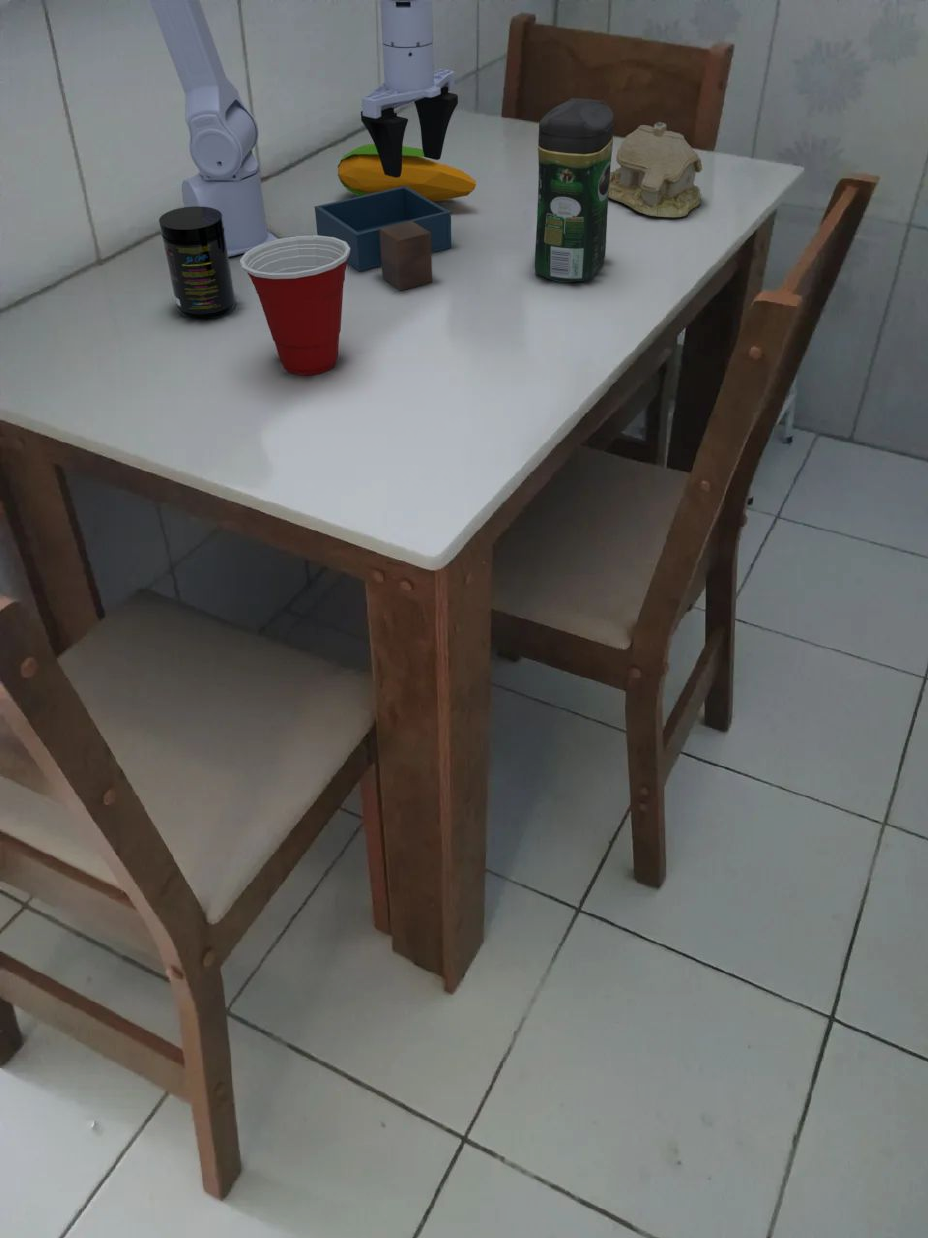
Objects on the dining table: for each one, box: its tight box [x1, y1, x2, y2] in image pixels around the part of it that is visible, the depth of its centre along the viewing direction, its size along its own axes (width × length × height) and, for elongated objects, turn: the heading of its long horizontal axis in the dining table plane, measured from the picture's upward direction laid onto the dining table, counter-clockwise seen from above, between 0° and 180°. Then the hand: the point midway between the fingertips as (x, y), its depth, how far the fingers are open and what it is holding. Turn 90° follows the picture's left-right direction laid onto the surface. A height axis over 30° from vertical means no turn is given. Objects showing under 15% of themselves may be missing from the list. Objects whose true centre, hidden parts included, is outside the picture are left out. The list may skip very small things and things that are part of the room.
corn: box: [337, 143, 477, 202], centre depth 143 cm, size 7×8×20 cm
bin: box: [314, 186, 452, 272], centre depth 133 cm, size 13×11×4 cm
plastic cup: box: [239, 234, 350, 376], centre depth 107 cm, size 11×11×12 cm
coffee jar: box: [534, 97, 615, 283], centre depth 123 cm, size 10×8×19 cm
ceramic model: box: [608, 121, 703, 218], centre depth 142 cm, size 14×11×10 cm
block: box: [379, 221, 433, 292], centre depth 125 cm, size 4×4×6 cm
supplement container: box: [158, 206, 236, 321], centre depth 118 cm, size 7×7×10 cm
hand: (412, 166), depth 128 cm, fingers open, 7 cm apart
